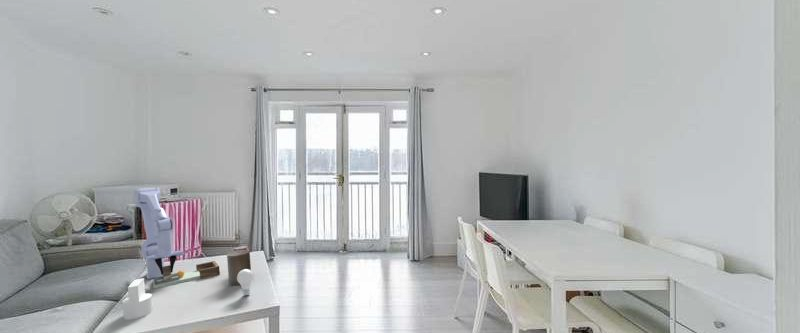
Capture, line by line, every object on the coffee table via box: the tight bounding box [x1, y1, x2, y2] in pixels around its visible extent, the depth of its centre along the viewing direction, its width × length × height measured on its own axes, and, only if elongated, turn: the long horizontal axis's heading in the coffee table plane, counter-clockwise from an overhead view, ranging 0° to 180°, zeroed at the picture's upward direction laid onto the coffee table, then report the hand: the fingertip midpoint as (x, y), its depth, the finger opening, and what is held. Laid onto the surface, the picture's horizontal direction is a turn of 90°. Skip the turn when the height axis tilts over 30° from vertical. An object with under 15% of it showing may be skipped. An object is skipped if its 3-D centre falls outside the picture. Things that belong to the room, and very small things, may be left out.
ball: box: [176, 270, 185, 277], centre depth 169 cm, size 3×3×3 cm
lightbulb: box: [237, 269, 255, 297], centre depth 146 cm, size 6×6×11 cm
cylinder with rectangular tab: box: [121, 278, 154, 320], centre depth 133 cm, size 9×9×12 cm
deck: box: [152, 270, 200, 289], centre depth 168 cm, size 10×19×1 cm, turn 128°
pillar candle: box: [226, 249, 252, 286], centre depth 162 cm, size 10×10×15 cm
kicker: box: [162, 264, 172, 280], centre depth 165 cm, size 5×3×6 cm, turn 38°
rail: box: [153, 272, 179, 285], centre depth 165 cm, size 8×10×1 cm
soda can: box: [233, 244, 250, 251], centre depth 174 cm, size 7×7×13 cm
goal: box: [195, 260, 220, 279], centre depth 176 cm, size 12×8×4 cm
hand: (166, 273), depth 166 cm, fingers closed on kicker, 3 cm apart
